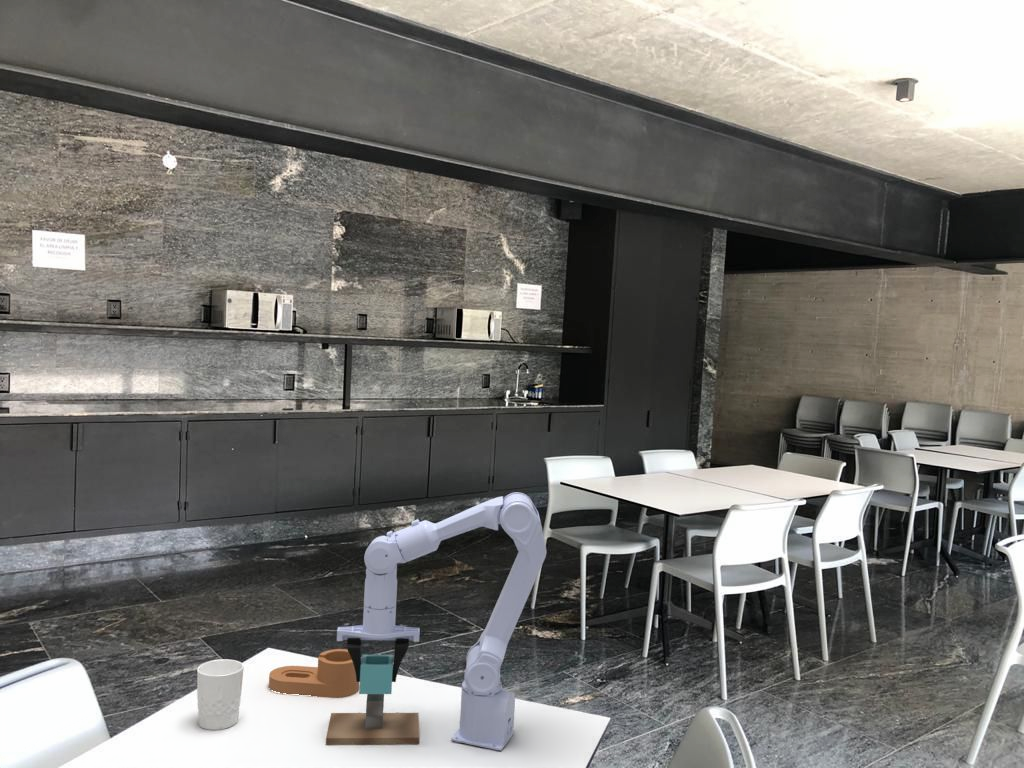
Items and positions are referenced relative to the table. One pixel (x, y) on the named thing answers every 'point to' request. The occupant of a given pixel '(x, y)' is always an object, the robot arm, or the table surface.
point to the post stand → (373, 726)
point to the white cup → (219, 693)
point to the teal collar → (376, 674)
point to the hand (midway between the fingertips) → (376, 679)
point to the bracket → (318, 677)
